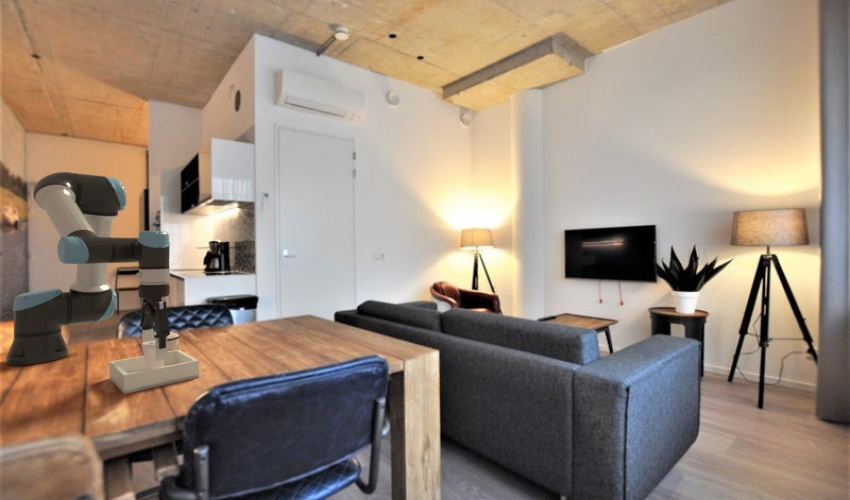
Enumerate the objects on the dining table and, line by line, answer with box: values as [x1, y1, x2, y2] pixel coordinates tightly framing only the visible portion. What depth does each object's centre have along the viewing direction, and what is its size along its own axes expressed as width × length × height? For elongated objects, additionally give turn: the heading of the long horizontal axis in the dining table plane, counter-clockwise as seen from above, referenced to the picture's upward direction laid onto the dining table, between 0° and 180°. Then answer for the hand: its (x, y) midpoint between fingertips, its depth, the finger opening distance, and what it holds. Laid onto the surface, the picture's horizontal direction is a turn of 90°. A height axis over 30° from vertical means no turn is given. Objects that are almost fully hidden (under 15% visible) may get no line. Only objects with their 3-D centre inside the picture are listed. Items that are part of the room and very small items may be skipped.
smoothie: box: [141, 329, 164, 370], centre depth 116 cm, size 6×6×14 cm
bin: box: [108, 349, 200, 395], centre depth 116 cm, size 18×18×5 cm
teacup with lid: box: [153, 331, 180, 352], centre depth 131 cm, size 12×9×12 cm
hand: (154, 355), depth 116 cm, fingers open, 13 cm apart
